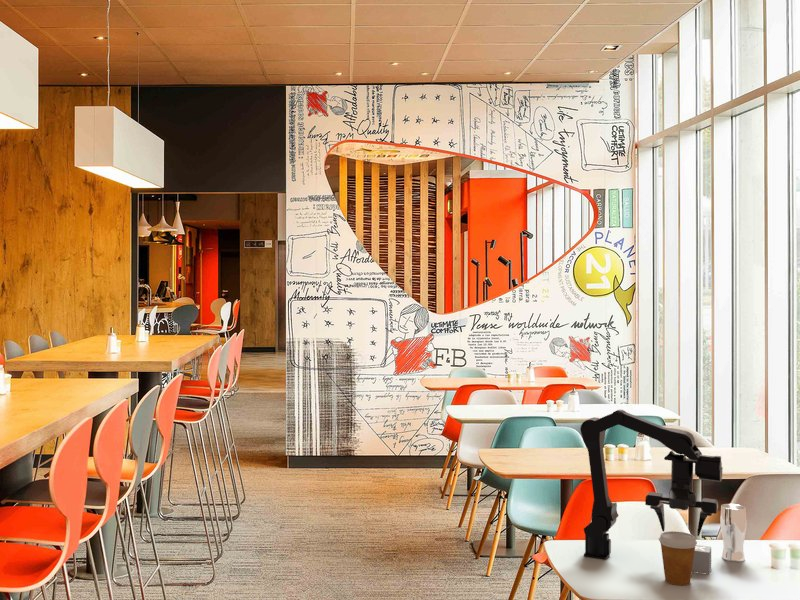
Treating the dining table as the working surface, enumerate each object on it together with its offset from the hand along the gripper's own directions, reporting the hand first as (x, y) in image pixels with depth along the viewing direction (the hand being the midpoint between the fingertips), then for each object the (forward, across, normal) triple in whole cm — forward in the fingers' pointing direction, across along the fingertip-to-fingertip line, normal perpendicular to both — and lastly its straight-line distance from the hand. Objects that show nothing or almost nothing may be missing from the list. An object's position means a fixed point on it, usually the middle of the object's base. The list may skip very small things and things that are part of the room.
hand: (680, 533), depth 229 cm
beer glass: (+9, +13, +15) cm, 22 cm away
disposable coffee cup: (+10, +1, -13) cm, 16 cm away
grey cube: (+9, +5, 0) cm, 11 cm away
